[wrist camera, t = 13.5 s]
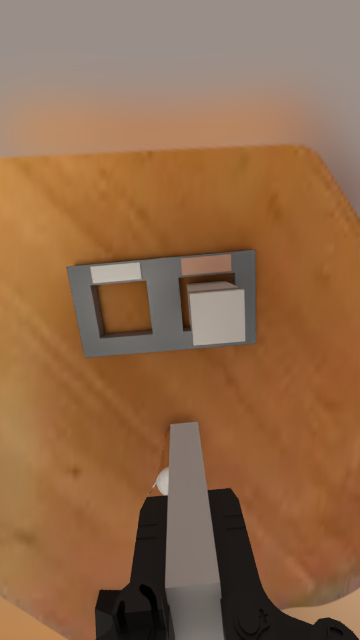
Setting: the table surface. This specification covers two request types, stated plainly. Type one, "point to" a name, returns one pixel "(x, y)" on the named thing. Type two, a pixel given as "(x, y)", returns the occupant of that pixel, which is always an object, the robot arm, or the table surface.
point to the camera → (105, 611)
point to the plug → (216, 312)
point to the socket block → (157, 300)
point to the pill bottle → (163, 467)
